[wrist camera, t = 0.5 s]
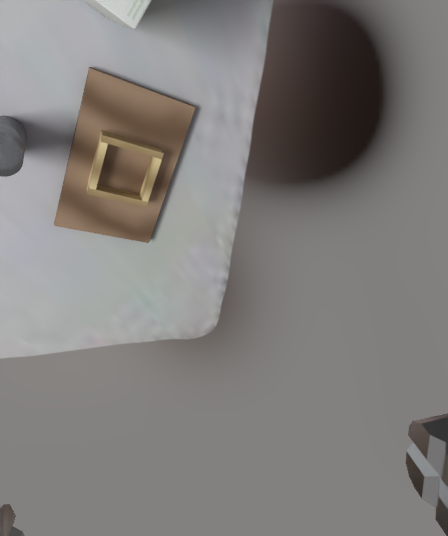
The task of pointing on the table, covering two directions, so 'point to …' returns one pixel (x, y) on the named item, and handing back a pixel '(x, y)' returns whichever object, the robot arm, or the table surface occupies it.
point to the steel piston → (11, 146)
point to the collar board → (121, 158)
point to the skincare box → (121, 10)
